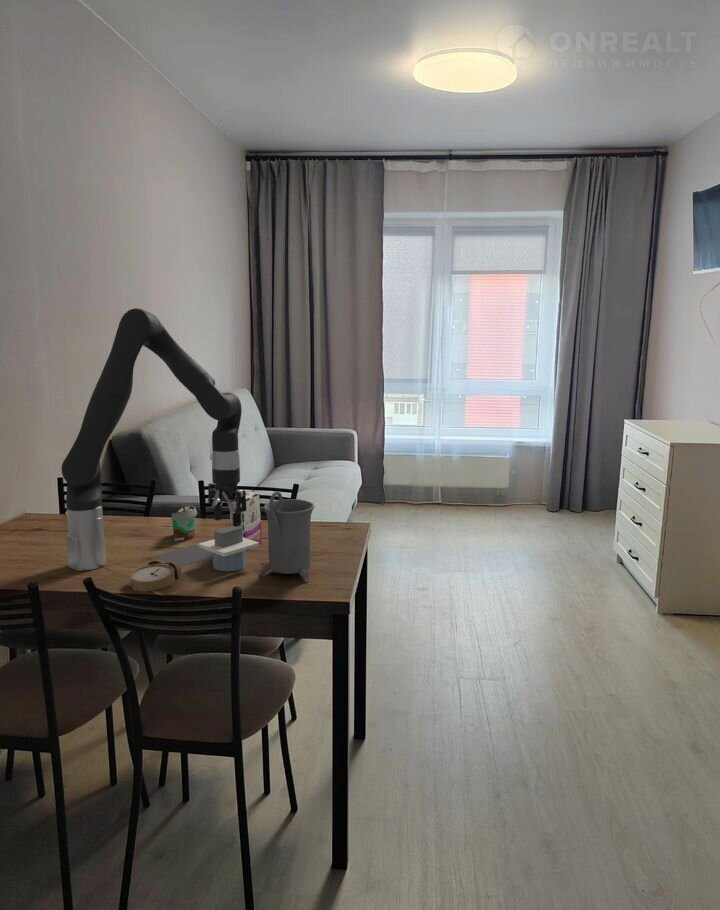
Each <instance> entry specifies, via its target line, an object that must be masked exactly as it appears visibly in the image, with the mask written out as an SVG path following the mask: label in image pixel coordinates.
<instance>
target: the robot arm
mask: <svg viewBox="0 0 720 910" xmlns="http://www.w3.org/2000/svg"><path fill="white" fill-rule="evenodd" d="M143 347H145V348H146V349H148V350H149V351H151V352H153V353H154V354H155V355H157V357H159V359H161V360H162V361H163V363H164V364H165V365H166V366H167V367H168V369H169V370H170V372H171V373H172V374H173V376H174V377H175V378H176V380H178V382H179V383H180V384H181V385H183V386H184V388H185V389H187V390H188V392H190V393H191V394H192V395H193V396H194V398H195V399H196V400H197V402H198V404H199V405H200V406H201V408H202V409H203V411H204V412H205V413H206V414H207V415H208V416H209V417H210V418H212V419H213V420H216V421H217V422H216V423H217V425H216V427H215V429H213V430H212V433H211V446H212V447H211V449H212V450H211V451H212V453H211V475H212V476H211V479H212V482H211V483H208V485H207V486H208V487H207V488H208V490H207V492H208V494H207V495H208V496H207V499H208V502H207V503H208V504H210V505H211V507H212V508H213V520H215V521H221V520H222V519H223V507H222V505H223V503H225V504H227V506H228V508H230V507H231V509H232V512H233V526H235V527H237V526H240V525H241V512H244V511H246V493H245V492H246V489H240V490H239V489H238V484H239V483H240V482H241V464H240V463H241V461H240V454H239V435H238V434H239V430H240V426H241V419H242V402H241V400H240V398H239V396H237V395H236V394H235V393H233V392H220V391H219V389H217V387H216V382H215V381H216V380H215V379H214V378H213V376H212V375H210V374H209V372H208V371H207V370H205V368H204V367H203V366H201V365H200V363H198V362H197V361H196V360H195V359H194V358H193V357H192V356H191V355H189V353H188V352H186V350H184V349H183V348H182V347H181V346H180V345H179V343H177V341H176V340H175V339H174V338H173V337H172V335H171V334H170V333H169V331H168V330H167V328H165V326H164V325H163V323H162V322H161V320H159V318H158V317H157V316H156V315H155V314H153V313H151V312H148V311H147V310H144V309H141V308H131V309H129V310H127V311H126V312H125V313H123V315H122V317H121V319H120V321H119V323H118V327H117V329H116V333H115V337H114V339H113V342H112V347H111V350H110V353H109V355H108V357H107V360H106V361H105V363H104V366H103V368H102V371H101V373H100V376H99V378H98V380H97V382H96V384H95V386H94V390H93V391H92V394H91V396H90V399H89V402H88V405H87V406H86V407H87V408H86V410H85V412H84V416H83V419H82V422H81V423H82V424H81V427H80V430H79V432H78V435H77V436H76V439H75V440H74V443H73V445H72V446H71V448H70V449H69V451H68V453H67V455H66V456H65V458H64V459H63V461H62V464H61V468H60V469H61V474H62V477H63V480H65V482H66V496H65V497H66V498H65V504H66V505H65V506H66V514H67V515H66V517H67V527H68V528H67V529H68V530H67V531H68V533H67V534H66V535H65V540H66V551H67V552H66V553H67V562H68V563H67V564H68V567H69V568H71V569H73V570H75V571H77V572H82V571H91V570H95V569H99V568H102V567H104V565H105V564H106V563H107V555H106V544H105V543H106V542H105V541H106V540H105V529H104V528H105V527H104V518H103V517H104V516H103V515H104V514H103V502H102V501H103V500H102V495H103V486H102V471H101V462H100V461H101V457H102V455H103V452H104V448H105V446H106V444H107V442H108V440H109V438H110V436H111V435H112V434H113V432H114V430H115V429H116V427H117V425H118V424H119V422H120V420H121V418H122V416H123V415H124V412H125V410H126V407H127V405H128V403H129V400H130V398H131V395H132V390H133V383H134V369H135V364H136V360H137V358H138V356H139V355H140V352H141V350H142V349H143ZM234 500H235V501H236V502H233V501H234ZM241 503H242V507H241V505H240V504H241ZM235 506H236V508H237V509H236V508H235Z"/></svg>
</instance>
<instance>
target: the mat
mask: <svg viewBox="0 0 720 910" xmlns="http://www.w3.org/2000/svg"><path fill="white" fill-rule="evenodd" d="M154 557H156V558H158V559H161V560H163V561H165V562H175V563H177V564H178V565H179V566H180V568H183V567H186V566H189V565H192V564H197V563H199V562H202V561H205V560H206V561H207V560H210V559H213V552H210V551H208V550H205V549H202V548H200V547H199V546H198V544H191V545H189V546H185V547H181V548H178V549H174V550H170V551H166V552H163V553H160V554H156V555H154Z"/></svg>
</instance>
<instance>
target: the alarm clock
mask: <svg viewBox="0 0 720 910" xmlns="http://www.w3.org/2000/svg"><path fill="white" fill-rule="evenodd" d="M182 569H183V567H180V566H179V565H178V564H177V563H175V562H167V561H165V562H162V561H160V560H157V559H153V560H150V561H149V563H147V564H146V565H143V566H140V567H137V568H136V569H134V570H133V571H132V572H130V575H129V577H130V583H128V584H127V587H131V589H132V588H133V590H134V589H135V590H134V591H136V590H138V591H137V592H140V591H155V590H160V589H164V588H167V587H170V586H171V585H173V584H174V583H175V582H176V577H177V579H178V578H180V577H181V574H182ZM175 576H176V577H175ZM155 592H156V591H155Z"/></svg>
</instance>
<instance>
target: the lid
mask: <svg viewBox="0 0 720 910" xmlns="http://www.w3.org/2000/svg"><path fill="white" fill-rule="evenodd" d="M213 533H214V534H213V535H214V536H213V537H214V539H210V540H207V541H203V542H200V543H198V544H197V546H199V547H200V548H202V549H205V550H208V551H210V552H213V553H216V554H218V555H221V556H224V557H225V556H228V555H232V554H235V553H238V552H242V551H245V550H248V549H250V550H251V549H255V548H257V547H260V544H259V542H256V541H253V540H250V539H246V538H243V537H242V528H241V527H235V526H231V525H230V526H228V527H224V528H220V529H217V530H214V532H213ZM248 551H249V550H248Z"/></svg>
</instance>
